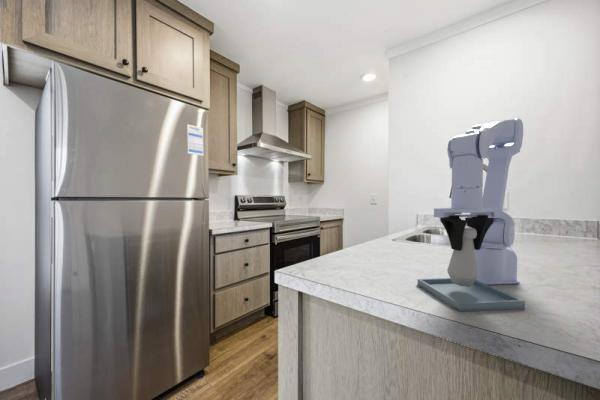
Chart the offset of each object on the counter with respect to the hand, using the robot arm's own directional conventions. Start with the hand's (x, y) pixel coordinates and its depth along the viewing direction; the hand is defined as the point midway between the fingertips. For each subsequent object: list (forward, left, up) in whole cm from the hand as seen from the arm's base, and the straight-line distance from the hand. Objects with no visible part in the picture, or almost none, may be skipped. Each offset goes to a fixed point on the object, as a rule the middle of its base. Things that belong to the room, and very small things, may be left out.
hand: (465, 249), depth 55 cm
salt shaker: (0, -1, -8) cm, 8 cm away
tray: (0, 0, -10) cm, 10 cm away
